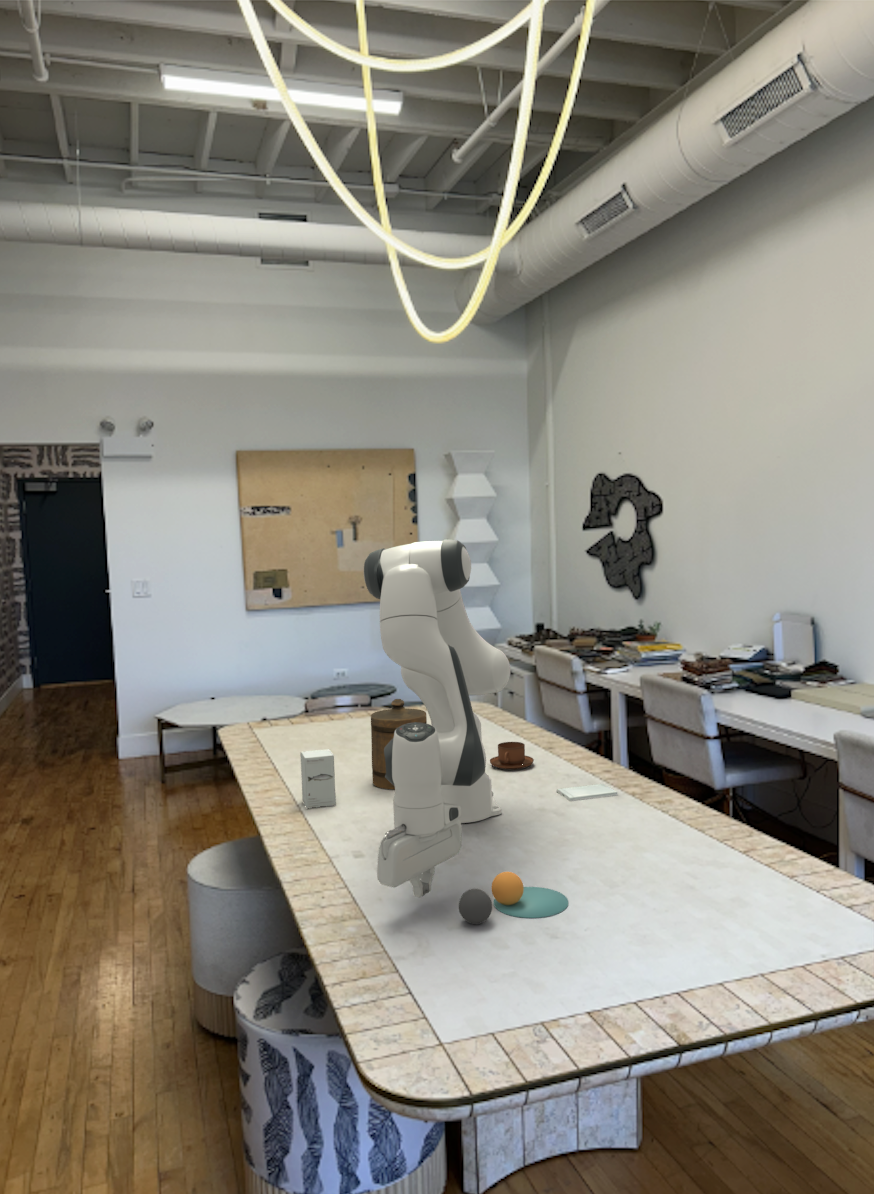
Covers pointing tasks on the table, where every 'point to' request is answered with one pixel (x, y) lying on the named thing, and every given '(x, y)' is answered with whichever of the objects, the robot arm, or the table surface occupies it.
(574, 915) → the table surface
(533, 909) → the teal flat disc
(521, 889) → the orange ball
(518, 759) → the cup and saucer
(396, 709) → the wooden container
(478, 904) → the black ball
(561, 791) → the hard drive
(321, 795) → the supplement box
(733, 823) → the table surface
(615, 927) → the table surface
